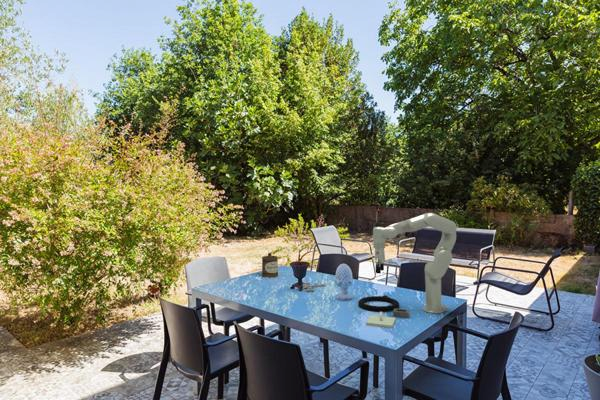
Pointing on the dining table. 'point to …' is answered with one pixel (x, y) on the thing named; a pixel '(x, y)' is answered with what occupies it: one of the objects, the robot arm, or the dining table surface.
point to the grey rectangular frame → (401, 313)
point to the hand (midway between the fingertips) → (379, 271)
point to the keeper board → (381, 321)
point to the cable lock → (378, 308)
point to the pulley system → (308, 286)
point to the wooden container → (270, 266)
